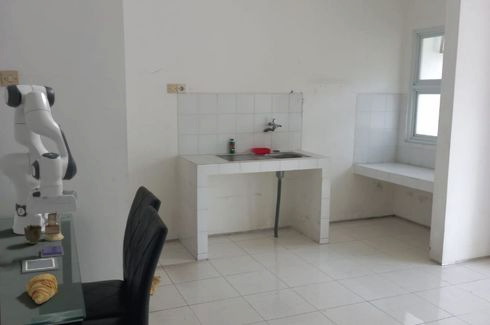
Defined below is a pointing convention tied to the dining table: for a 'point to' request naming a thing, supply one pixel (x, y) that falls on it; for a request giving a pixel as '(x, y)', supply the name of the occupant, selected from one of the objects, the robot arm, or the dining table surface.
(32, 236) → the cup
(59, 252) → the ink pad
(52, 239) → the hand bell
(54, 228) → the stamp
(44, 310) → the dining table surface
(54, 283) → the croissant
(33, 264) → the board
